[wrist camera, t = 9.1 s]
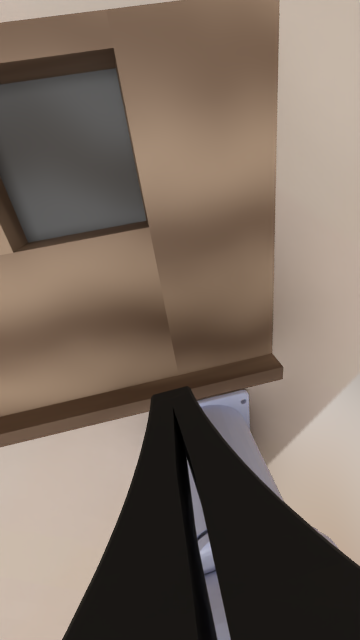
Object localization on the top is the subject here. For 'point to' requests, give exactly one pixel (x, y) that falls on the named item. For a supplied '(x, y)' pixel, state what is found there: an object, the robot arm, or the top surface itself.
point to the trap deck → (135, 209)
